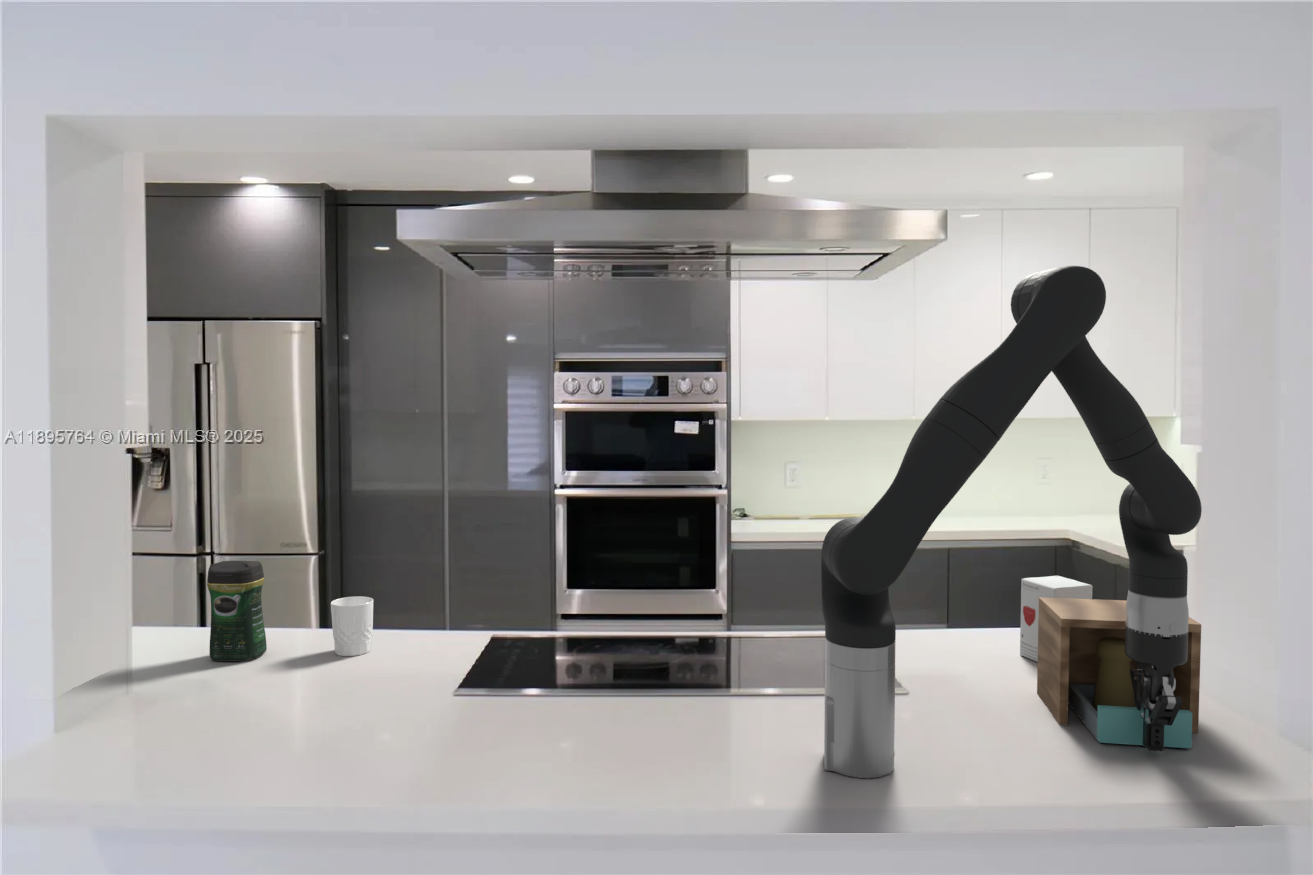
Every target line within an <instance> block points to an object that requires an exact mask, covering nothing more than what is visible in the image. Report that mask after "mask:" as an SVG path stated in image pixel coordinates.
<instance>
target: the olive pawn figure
mask: <svg viewBox="0 0 1313 875" xmlns="http://www.w3.org/2000/svg"><path fill="white" fill-rule="evenodd" d="M1096 651H1097V655H1098V656H1099V658H1100V663H1099V669H1098V675H1097V681H1096V686H1095V692H1094V698H1093V704H1092V707H1093V708H1094V709H1095V710H1096V711H1097V708H1098V705H1104V706H1122V707H1135V702H1134V693H1133V686H1132V681H1131V676H1130V670H1131V668H1130V662H1131V661H1132V659H1130V658H1129V657H1127V655H1126V654H1125V640H1124V639H1120V638H1113V637H1108V638H1102V639H1100V640H1099V641H1098V643H1097V649H1096Z"/></svg>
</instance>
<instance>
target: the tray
mask: <svg viewBox="0 0 1313 875" xmlns="http://www.w3.org/2000/svg"><path fill="white" fill-rule="evenodd" d="M1095 686H1096V684H1085V683H1069V687H1068V706H1070V707H1071V708H1072V710H1073V711H1074V712H1075V713H1076V715H1077V716H1078V718H1080V720H1081V721H1082V723H1083V724H1084V725H1085V726H1086V727H1087V729H1088V730H1089V731H1090V733H1091V734H1092V735H1093V736H1094V738H1095V739H1096V740H1097V742H1098V743H1103V744H1116V745H1118V744H1120V745H1131V746H1132V745H1134V746H1144V745H1143V720H1142V718H1141V715H1140V714H1141V711H1140V710H1137V707H1136V701H1135V696H1134V702H1135V707H1122V706H1104V705H1098V708H1097V711H1096V710H1095V709H1094V708H1093V707H1092V704H1093V698H1094V692H1095ZM1133 693H1134V691H1133ZM1192 738H1193V733H1192V713H1191V712H1190V711H1189V710H1179V711H1178V714H1177V716H1176V718H1175V720H1174V722H1173V724H1172V726H1170V725H1164V748H1180V749H1192Z"/></svg>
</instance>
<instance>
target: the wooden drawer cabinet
mask: <svg viewBox="0 0 1313 875" xmlns="http://www.w3.org/2000/svg"><path fill="white" fill-rule="evenodd" d="M1126 602H1127V599H1126V600H1125V599H1124V600H1120V599H1100V598H1099V599H1097V598H1095V599H1093V598H1092V599H1073V598H1046V597H1039V616H1038V662H1037V671H1036V672H1037V674H1036V676H1037V678H1036V680H1037V681H1036V694H1037V696H1038V697H1039V698H1040V699H1041V701H1042V703H1043V704H1044V705H1045V707H1046V708H1047V709H1048V711H1049V712H1050V714H1051V715H1052V716H1053V718H1054V719H1055V721H1056V722H1057V723H1058V725H1061V726H1062V725H1065V726H1066V725H1068V723H1069V703H1068V687H1069V683H1085V684H1096V681H1097V675H1098V669H1099V663H1100V658H1099V656H1098V655H1097V651H1096V649H1097V643H1098V641H1099V640H1100V639H1102V638H1108V637H1113V638H1120V639H1124V640H1125V618H1126ZM1201 646H1202V624H1201V623H1200V622H1198V621H1197V620H1195V619H1193V618H1191V617H1190V616H1189V620H1188V656H1187V662H1186V663H1185V664H1183V665H1178V666H1175V667H1174V668H1173V675H1174V677H1175V680H1176V687H1175V690H1174V691H1173V695H1174V696H1180V697H1181V699H1182V705H1181V707H1180V709H1179V710H1189V711H1190V712H1191V713H1192V734H1199V717H1200V716H1199V714H1200V686H1201V685H1200V682H1201V679H1200V678H1201V653H1202V652H1201V651H1202V650H1201ZM1130 668H1131V669H1138V668H1137V661H1135V660H1132V661H1131V662H1130Z"/></svg>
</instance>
